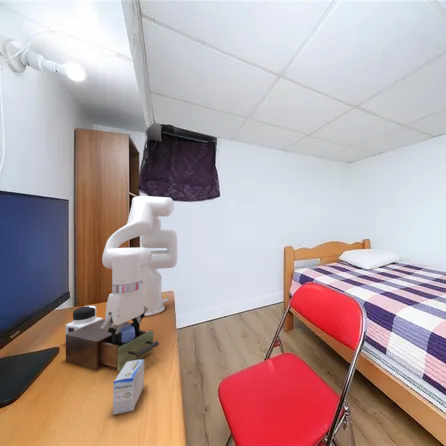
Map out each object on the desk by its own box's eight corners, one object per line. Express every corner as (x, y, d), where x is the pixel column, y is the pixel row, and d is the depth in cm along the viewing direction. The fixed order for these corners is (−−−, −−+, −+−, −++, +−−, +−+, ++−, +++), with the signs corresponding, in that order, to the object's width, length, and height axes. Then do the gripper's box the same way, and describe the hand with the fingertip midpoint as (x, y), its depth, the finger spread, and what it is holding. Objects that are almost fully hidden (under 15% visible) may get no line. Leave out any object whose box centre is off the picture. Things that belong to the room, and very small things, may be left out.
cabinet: (135, 347, 81) (135, 323, 81) (96, 369, 69) (96, 341, 68) (107, 340, 85) (107, 318, 84) (65, 361, 72) (65, 334, 72)
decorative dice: (119, 345, 71) (120, 333, 71) (117, 340, 73) (118, 328, 73) (134, 340, 74) (135, 328, 74) (132, 335, 76) (132, 324, 76)
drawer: (164, 352, 76) (164, 332, 76) (132, 375, 65) (132, 351, 65) (125, 343, 81) (125, 324, 81) (89, 363, 70) (89, 341, 70)
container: (80, 347, 80) (80, 312, 80) (64, 344, 82) (65, 310, 81) (103, 336, 88) (103, 304, 87) (88, 333, 89) (88, 302, 89)
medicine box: (125, 391, 60) (125, 361, 60) (144, 387, 62) (144, 358, 62) (112, 416, 53) (112, 381, 53) (134, 410, 54) (134, 377, 54)
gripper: (142, 279, 82) (141, 326, 83) (88, 294, 66) (88, 352, 66) (157, 281, 80) (157, 329, 81) (106, 297, 64) (106, 356, 64)
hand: (126, 338), depth 74 cm, fingers closed on decorative dice, 5 cm apart
